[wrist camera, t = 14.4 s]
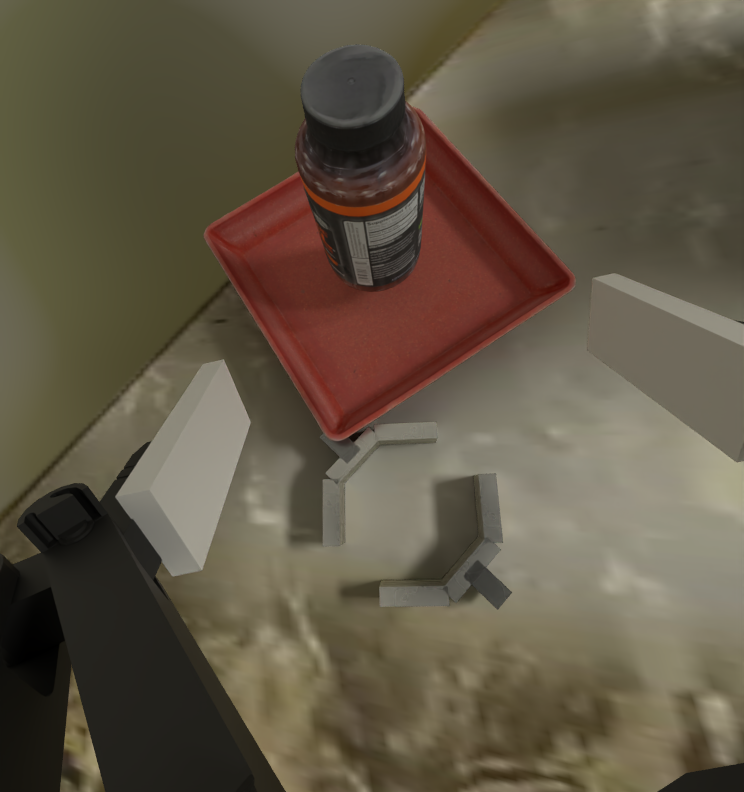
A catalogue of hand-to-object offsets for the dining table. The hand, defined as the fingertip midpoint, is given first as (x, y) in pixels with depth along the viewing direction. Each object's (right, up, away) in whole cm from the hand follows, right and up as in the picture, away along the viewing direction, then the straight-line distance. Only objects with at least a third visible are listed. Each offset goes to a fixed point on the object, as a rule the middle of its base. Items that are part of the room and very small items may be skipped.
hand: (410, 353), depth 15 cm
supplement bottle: (-1, +8, +12) cm, 14 cm away
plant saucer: (-1, +7, +15) cm, 16 cm away
